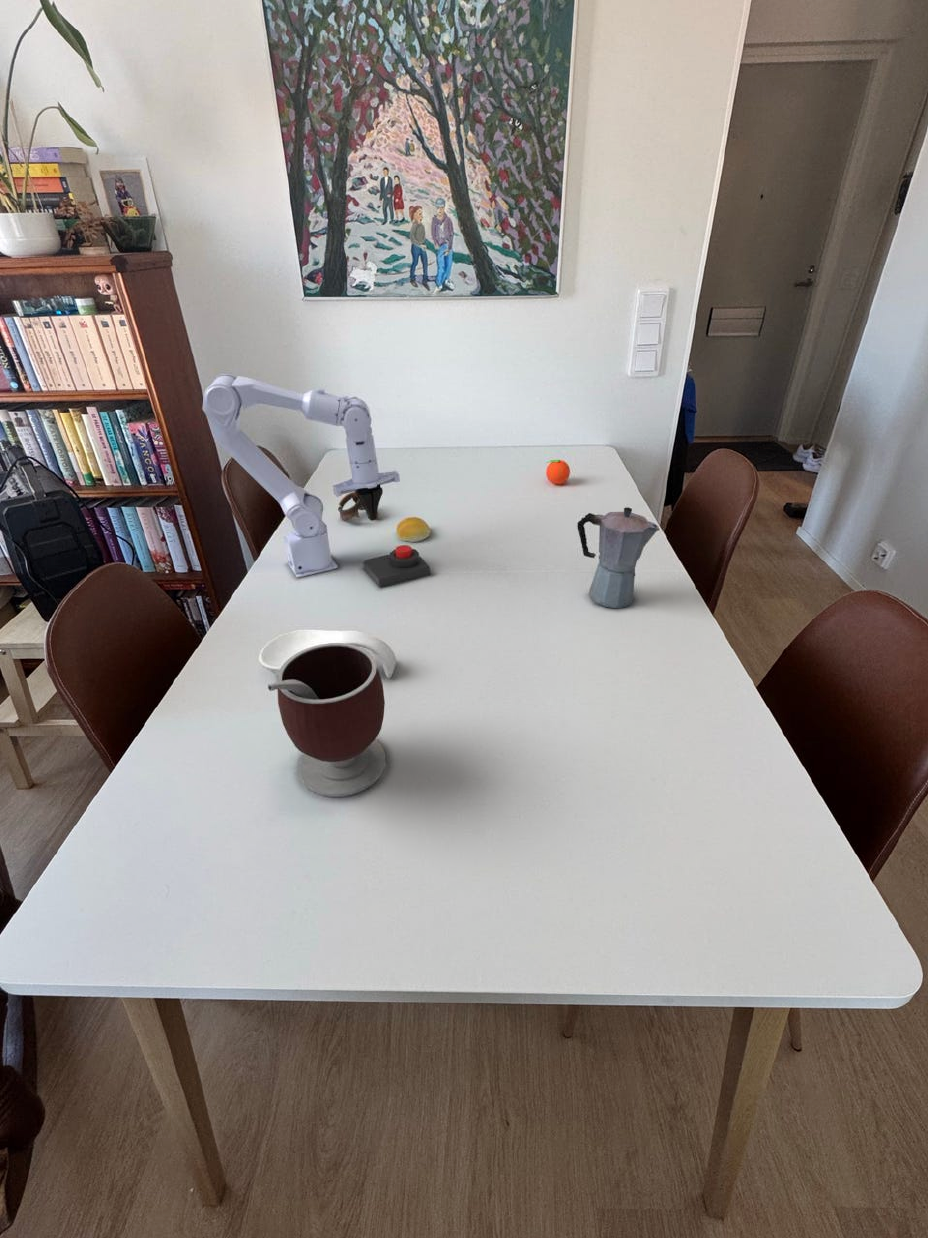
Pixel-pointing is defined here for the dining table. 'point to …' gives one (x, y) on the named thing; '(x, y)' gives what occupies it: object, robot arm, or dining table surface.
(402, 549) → the power button
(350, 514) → the brown looped frame
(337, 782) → the mate gourd
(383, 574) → the push button base
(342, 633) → the spoon rest
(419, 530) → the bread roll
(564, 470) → the clementine
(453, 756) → the dining table surface
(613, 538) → the moka pot
